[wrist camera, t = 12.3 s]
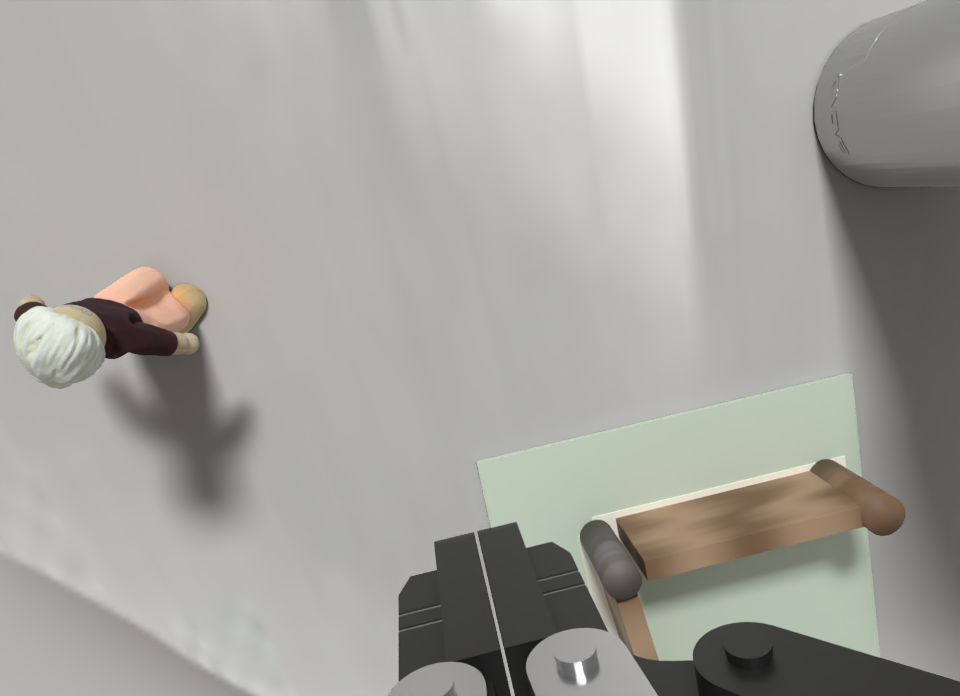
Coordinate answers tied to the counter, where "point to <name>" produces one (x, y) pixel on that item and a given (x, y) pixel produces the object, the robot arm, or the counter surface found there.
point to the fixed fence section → (757, 520)
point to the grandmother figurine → (107, 327)
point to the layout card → (694, 474)
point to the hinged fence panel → (619, 586)
